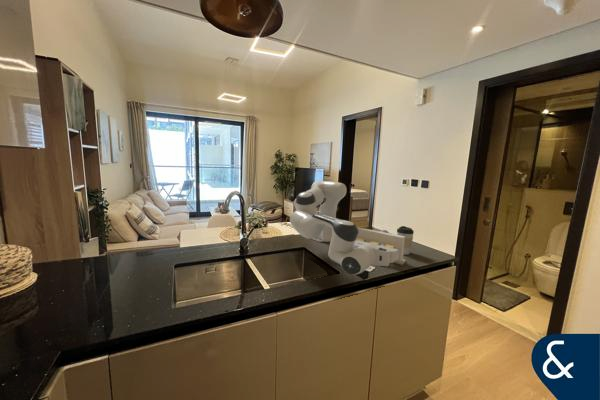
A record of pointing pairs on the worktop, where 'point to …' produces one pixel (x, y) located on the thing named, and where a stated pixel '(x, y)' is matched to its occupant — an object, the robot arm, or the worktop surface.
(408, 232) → the coffee cup
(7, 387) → the worktop surface
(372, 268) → the pattern card
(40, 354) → the worktop surface
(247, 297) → the worktop surface
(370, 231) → the button panel
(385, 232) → the donut
